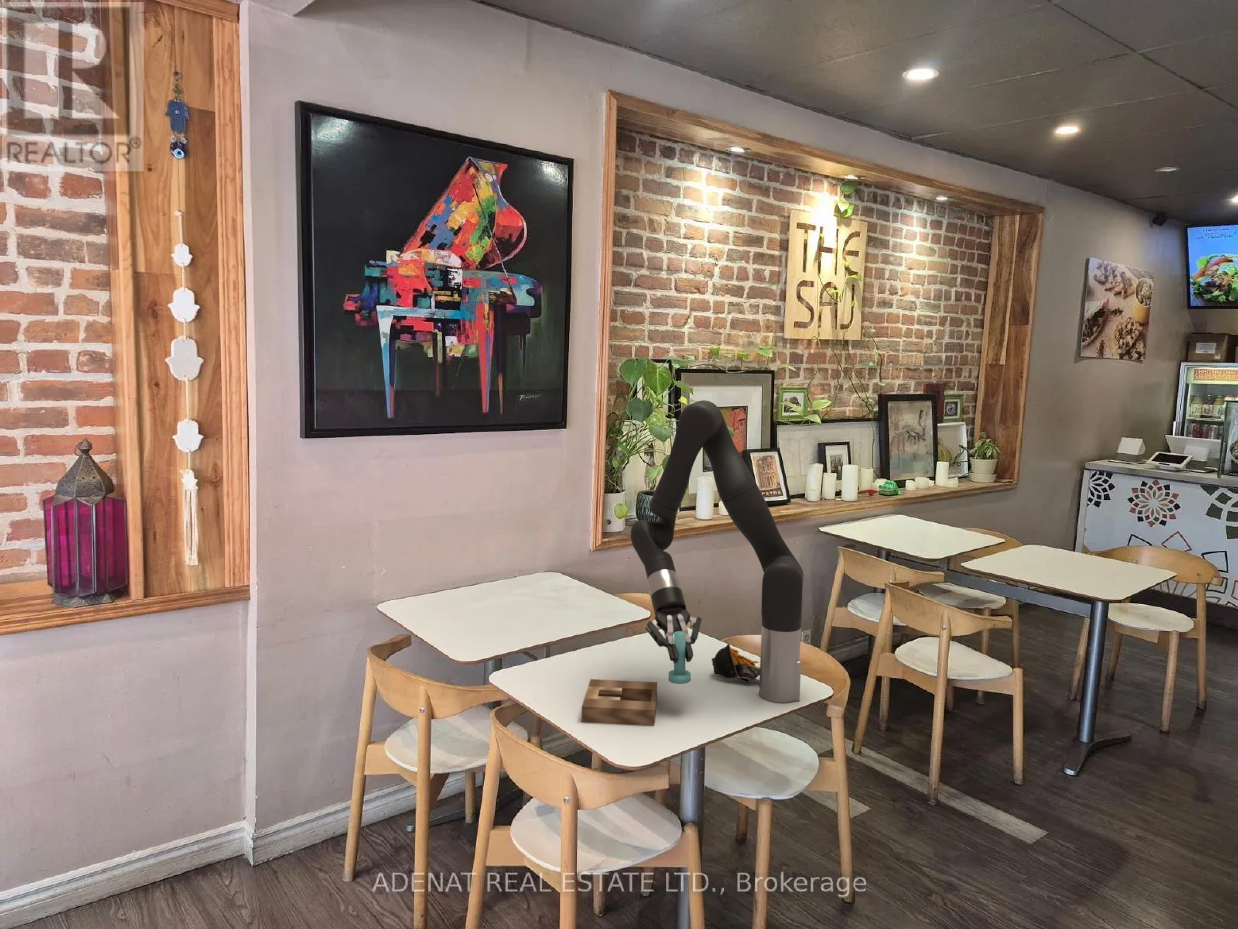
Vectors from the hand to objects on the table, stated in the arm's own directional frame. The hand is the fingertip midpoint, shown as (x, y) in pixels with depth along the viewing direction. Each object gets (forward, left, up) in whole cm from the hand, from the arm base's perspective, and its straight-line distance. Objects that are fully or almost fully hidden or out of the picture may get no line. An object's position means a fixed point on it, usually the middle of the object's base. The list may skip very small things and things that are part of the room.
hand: (682, 660), depth 184 cm
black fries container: (-16, -23, -13) cm, 31 cm away
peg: (+1, -2, -5) cm, 6 cm away
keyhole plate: (+14, -2, -13) cm, 19 cm away
